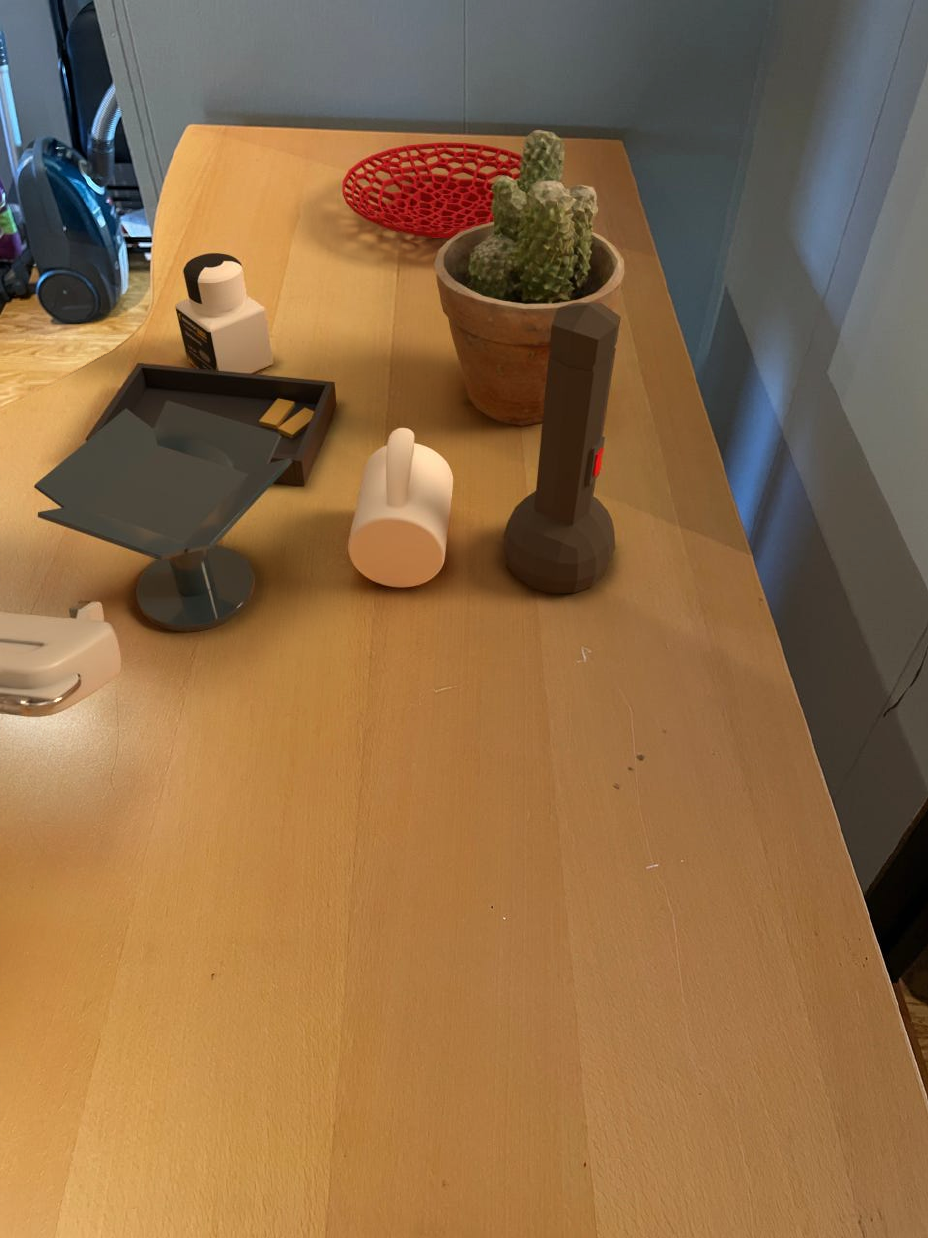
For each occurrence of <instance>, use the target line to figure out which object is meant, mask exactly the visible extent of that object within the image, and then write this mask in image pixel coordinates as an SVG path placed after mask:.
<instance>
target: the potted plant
mask: <svg viewBox="0 0 928 1238" xmlns="http://www.w3.org/2000/svg"><path fill="white" fill-rule="evenodd" d="M565 147H566V144H565V143H564V142H563V140H562V139H561V138H560V137H559V136H558V135H556V133H554V132H553V131H546V130H542V129H535V130H533V131H532V132H530V133H529V134H528V135H527V136H526V137H525V140H524V142H523V146H522V149H523V150H522V153H521V154H520V155H521V158H522V163H520V162H519V165H520V168H521V169H520V171H519V173H520V176H519V178H518V179H516V180H514V179H512V178H510V177H509V176H507V175H506V176H503V175H501V176H498V178H497V179H496V180H495V182H493V183H494V184H493V185H492V191H491V192H493V194H494V199H493V200H492V205H491V210H492V212H493V219H494V222H490V223H486V224H483V225H479V226H476V227H472V228H470V229H467V230H465V231H462V232H459V233H458V234H457V235H455V236H454V237H453V238H449V239H447V241H446V242H445V243H444V244H443V245H442V246H441V247H440V248H439V250H438V251H437V252H436V257H435V261H434V264H433V267H434V271H435V274H436V284H437V289H438V294H439V300H440V305H441V308H442V312H443V313H444V315H445V316H446V317H447V318H448V324H449V330H450V334H451V338H452V341H453V345H454V348H455V349H454V350H455V352H456V356H457V359H458V363H459V366H460V370H461V373H462V377H463V381H464V384H465V387H466V392H467V395H468V399H469V400H470V401H471V403H472V404H473V405H474V406H475V408H476V409H477V410H479V411H480V412H481V413H483V414H484V415H485V416H487V417H488V418H490V419H492V420H493V421H496V422H498V423H503V424H507V425H516V426H519V427H523V426H526V425H533V424H537V423H542V422H543V411H544V401H545V390H546V379H547V369H548V358H549V355H550V352H551V350H550V349H549V348H550V337H551V326H552V322H553V320H554V317H555V314H556V312H557V309H558V308H559V307H562V306H565V305H569V304H572V303H602V304H603V305H605V306H606V307H608V308H609V309H610V310H612V311H613V312H614V310H615V307H616V305H617V302H618V298H619V295H620V291H621V287H622V286H621V285H622V281H623V279H624V276H625V274H626V273H625V259H624V258H623V256H622V255H621V253H620V252H619V251H618V249H617V247H616V246H614V244H612V243H611V242H609V240H607V239H606V238H605V237H604V236H602V235H600V234H598V233H596V232H594V224H593V221H594V220H595V218H596V216H597V214H598V211H599V207H598V206H597V205H598V202H597V199H598V195H597V193H596V190H595V188H594V186H590V185H583V184H576V185H573V186H572V187H571V186H570V188H565V186H564V182H562V180H563V179H562V178H563V173H564V172H563V169H564V162H565V154H566V153H565V152H566V151H565Z"/></svg>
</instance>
